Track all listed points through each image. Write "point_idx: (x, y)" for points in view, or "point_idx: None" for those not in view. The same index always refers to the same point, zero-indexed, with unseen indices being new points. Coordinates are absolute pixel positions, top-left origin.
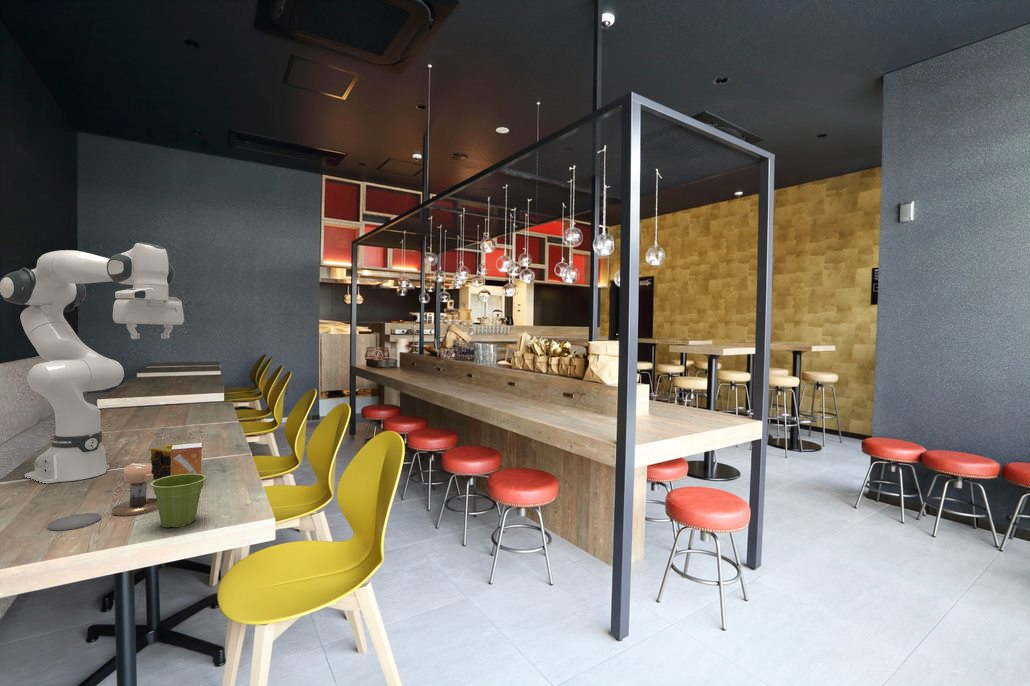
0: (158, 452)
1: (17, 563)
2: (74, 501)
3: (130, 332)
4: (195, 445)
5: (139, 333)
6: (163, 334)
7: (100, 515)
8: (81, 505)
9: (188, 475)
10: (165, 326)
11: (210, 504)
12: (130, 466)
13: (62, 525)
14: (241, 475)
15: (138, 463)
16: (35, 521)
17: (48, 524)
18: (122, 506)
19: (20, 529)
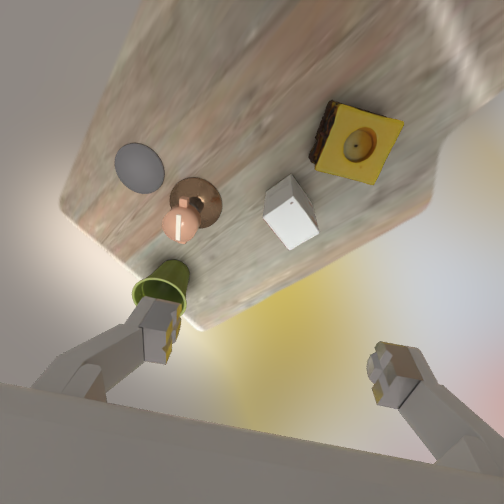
0: (329, 130)
1: (62, 207)
2: (197, 84)
3: (115, 330)
4: (295, 237)
5: (163, 361)
6: (382, 384)
7: (160, 185)
8: (187, 114)
9: (181, 294)
10: (460, 464)
11: (228, 269)
12: (172, 219)
13: (124, 169)
14: (347, 241)
15: (188, 218)
16: (126, 112)
17: (119, 150)
18: (186, 190)
19: (104, 121)
